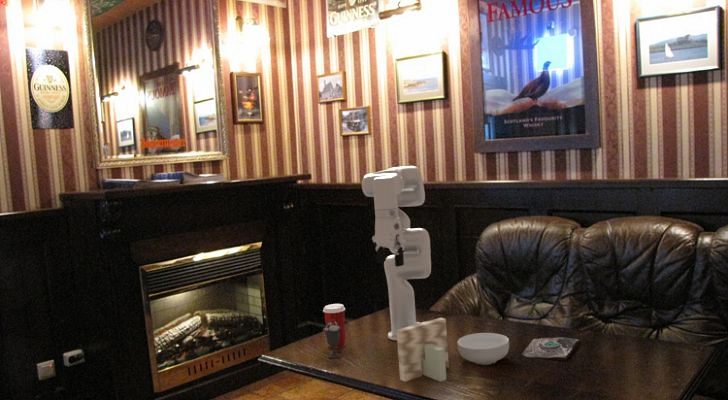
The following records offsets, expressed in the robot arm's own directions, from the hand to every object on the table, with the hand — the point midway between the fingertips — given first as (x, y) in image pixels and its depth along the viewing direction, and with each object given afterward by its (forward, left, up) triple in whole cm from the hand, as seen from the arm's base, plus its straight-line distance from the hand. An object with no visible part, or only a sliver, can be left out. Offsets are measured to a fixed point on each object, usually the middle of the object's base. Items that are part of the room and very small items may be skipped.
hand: (390, 263), depth 220 cm
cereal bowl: (-20, +21, -34) cm, 44 cm away
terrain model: (-43, +29, -34) cm, 62 cm away
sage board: (+1, +16, -33) cm, 37 cm away
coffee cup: (+6, -30, -34) cm, 46 cm away
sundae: (+13, -20, -34) cm, 41 cm away
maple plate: (+1, +16, -33) cm, 37 cm away
